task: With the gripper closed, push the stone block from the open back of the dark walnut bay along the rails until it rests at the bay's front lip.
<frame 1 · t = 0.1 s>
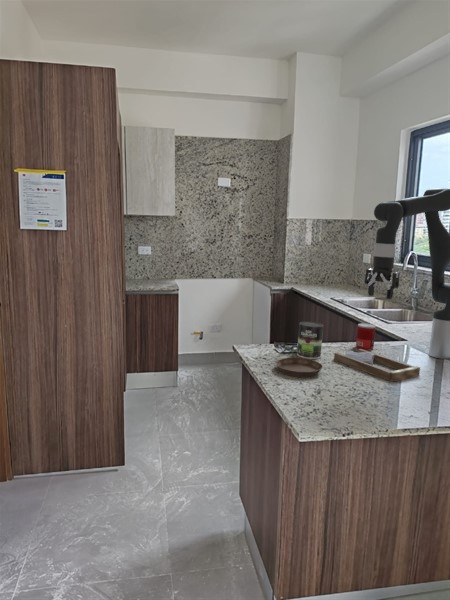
hand: (379, 297, 178), 29 cm above the countertop, tool pointing down, fingers open, 8 cm apart
plant saucer: (298, 372, 176), on the countertop
canned food: (364, 348, 215), on the countertop
stone block: (358, 363, 192), on the countertop
coffee can: (308, 356, 198), on the countertop
bay: (373, 366, 186), on the countertop
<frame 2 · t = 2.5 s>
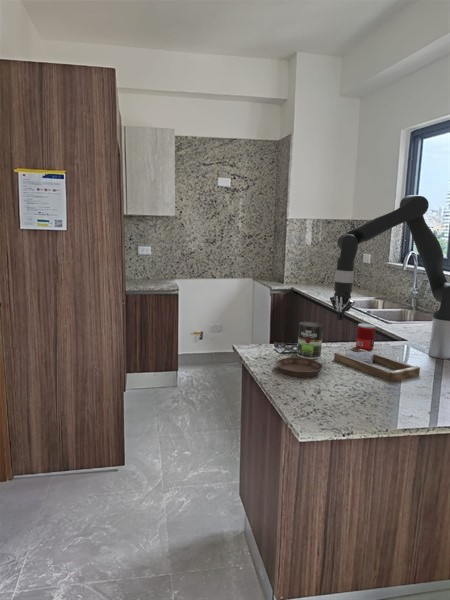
hand: (340, 320, 200), 15 cm above the countertop, tool pointing down, fingers closed
nothing on the countertop moved.
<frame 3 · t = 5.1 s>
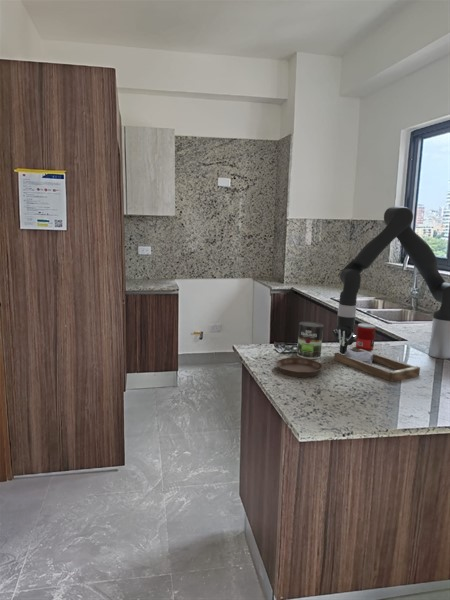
hand: (342, 353, 200), 1 cm above the countertop, tool pointing down, fingers closed
nothing on the countertop moved.
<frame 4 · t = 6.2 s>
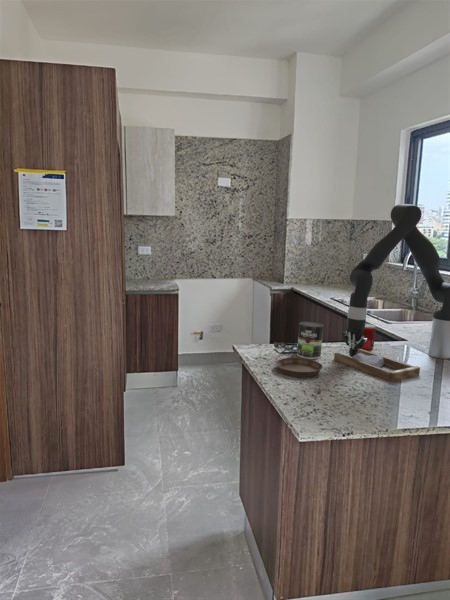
hand: (352, 356, 195), 1 cm above the countertop, tool pointing down, fingers closed
stone block: (366, 366, 187), on the countertop
everything else where it was.
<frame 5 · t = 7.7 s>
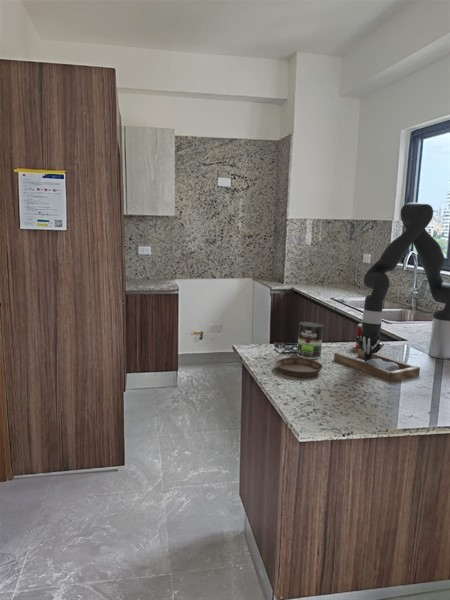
hand: (367, 362, 188), 1 cm above the countertop, tool pointing down, fingers closed
stone block: (379, 372, 181), on the countertop, touching bay
everything else where it was.
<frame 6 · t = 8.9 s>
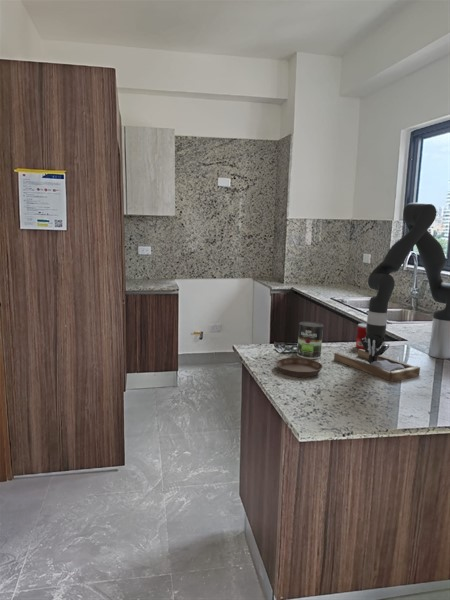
hand: (372, 364, 186), 1 cm above the countertop, tool pointing down, fingers closed
stone block: (385, 373, 180), on the countertop
everything else where it was.
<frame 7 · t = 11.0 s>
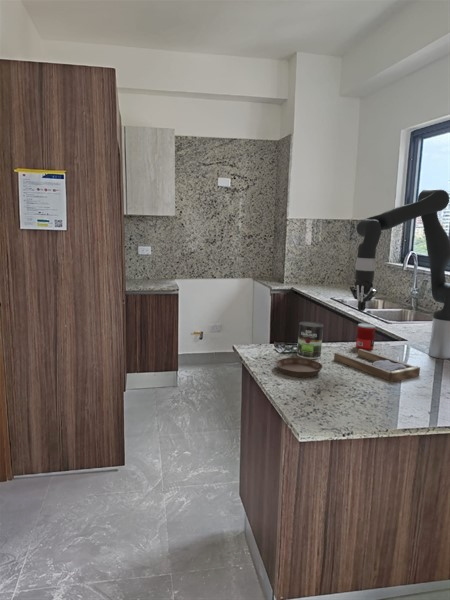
hand: (361, 310, 190), 22 cm above the countertop, tool pointing down, fingers closed
nothing on the countertop moved.
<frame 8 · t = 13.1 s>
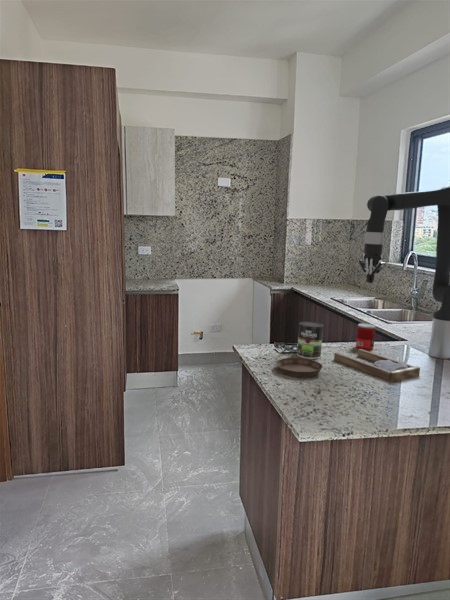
hand: (369, 282, 200), 32 cm above the countertop, tool pointing down, fingers closed
at the end: stone block inside the target area (0.8 cm from its centre), on the countertop; stone block moved 14.2 cm from its start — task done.
